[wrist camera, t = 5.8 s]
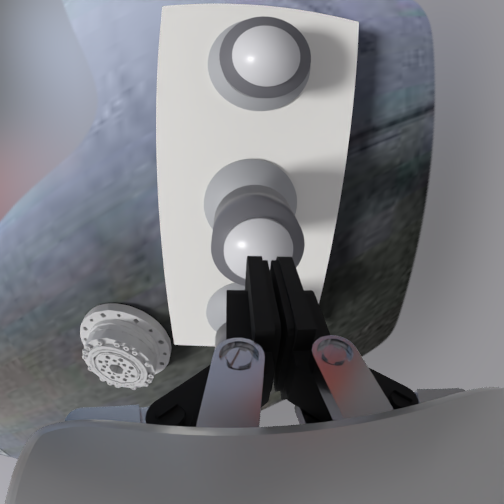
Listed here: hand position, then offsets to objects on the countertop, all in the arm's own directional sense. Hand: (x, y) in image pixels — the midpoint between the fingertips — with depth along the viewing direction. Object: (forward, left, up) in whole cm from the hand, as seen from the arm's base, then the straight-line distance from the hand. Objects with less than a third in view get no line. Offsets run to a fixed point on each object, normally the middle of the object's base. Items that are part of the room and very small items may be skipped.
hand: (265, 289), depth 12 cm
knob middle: (0, 0, -6) cm, 6 cm away
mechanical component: (+16, -12, -13) cm, 24 cm away
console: (0, 0, -12) cm, 12 cm away
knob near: (-9, 0, -9) cm, 13 cm away
